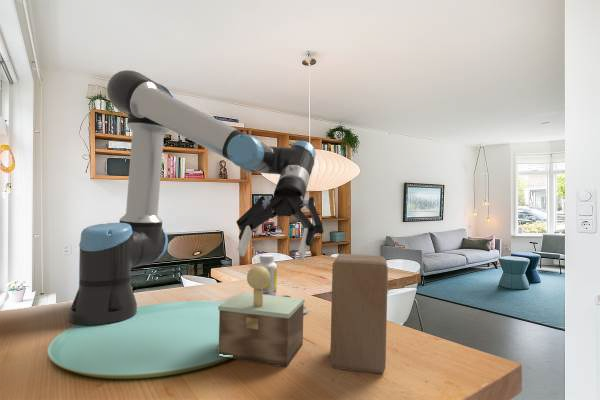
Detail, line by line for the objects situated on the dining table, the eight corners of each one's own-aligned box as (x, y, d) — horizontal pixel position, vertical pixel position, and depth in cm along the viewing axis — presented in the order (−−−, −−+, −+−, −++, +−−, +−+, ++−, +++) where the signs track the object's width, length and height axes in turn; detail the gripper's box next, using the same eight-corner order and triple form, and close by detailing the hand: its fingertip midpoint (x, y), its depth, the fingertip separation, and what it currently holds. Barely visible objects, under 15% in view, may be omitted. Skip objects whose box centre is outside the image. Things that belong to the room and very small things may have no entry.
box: (217, 356, 70) (219, 310, 70) (242, 336, 80) (243, 296, 80) (286, 367, 66) (287, 318, 66) (302, 344, 77) (303, 302, 77)
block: (385, 376, 64) (388, 263, 64) (329, 369, 66) (332, 260, 66) (383, 353, 73) (386, 255, 73) (335, 348, 75) (337, 252, 75)
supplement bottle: (270, 291, 121) (271, 253, 121) (280, 296, 116) (281, 256, 116) (252, 293, 118) (253, 254, 118) (261, 298, 112) (262, 257, 112)
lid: (218, 310, 70) (219, 265, 70) (242, 295, 81) (243, 257, 81) (288, 318, 66) (289, 270, 66) (304, 302, 77) (305, 261, 77)
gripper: (242, 175, 91) (211, 240, 77) (339, 175, 84) (325, 246, 70) (250, 196, 96) (222, 261, 82) (342, 198, 90) (330, 268, 75)
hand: (270, 254), depth 76 cm, fingers open, 13 cm apart
